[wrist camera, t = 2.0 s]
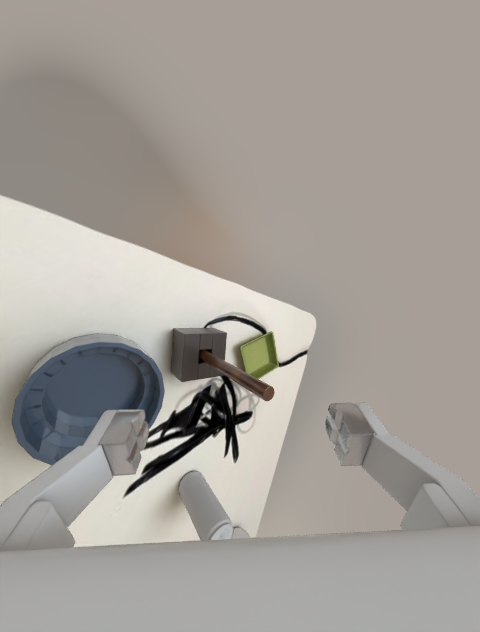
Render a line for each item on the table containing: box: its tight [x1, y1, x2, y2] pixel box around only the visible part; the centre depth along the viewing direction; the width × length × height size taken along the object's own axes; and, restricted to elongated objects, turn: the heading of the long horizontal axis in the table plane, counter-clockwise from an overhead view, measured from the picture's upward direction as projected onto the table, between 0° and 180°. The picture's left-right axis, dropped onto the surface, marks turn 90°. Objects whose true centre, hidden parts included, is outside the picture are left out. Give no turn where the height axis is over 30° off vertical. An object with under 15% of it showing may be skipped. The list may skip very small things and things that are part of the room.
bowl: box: [12, 334, 164, 465], centre depth 30 cm, size 15×15×6 cm
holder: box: [171, 328, 227, 382], centre depth 38 cm, size 7×7×5 cm
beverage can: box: [179, 471, 234, 541], centre depth 38 cm, size 5×5×12 cm
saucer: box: [240, 331, 278, 379], centre depth 48 cm, size 9×9×2 cm
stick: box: [199, 350, 274, 401], centre depth 32 cm, size 2×2×20 cm
